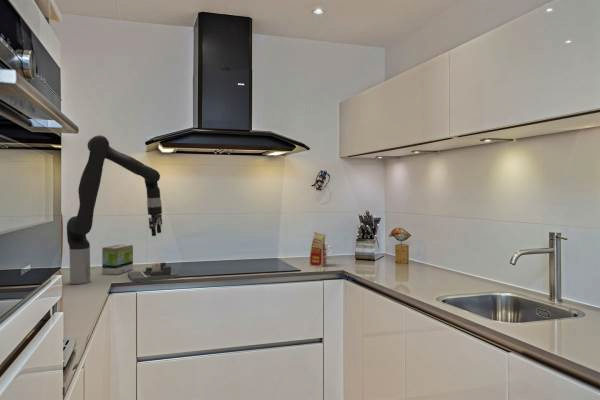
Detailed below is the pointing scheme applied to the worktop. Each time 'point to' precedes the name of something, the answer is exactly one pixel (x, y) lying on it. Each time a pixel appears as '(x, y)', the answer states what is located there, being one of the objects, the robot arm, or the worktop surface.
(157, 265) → the breaker
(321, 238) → the red food bag
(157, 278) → the breaker panel
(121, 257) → the tea box
